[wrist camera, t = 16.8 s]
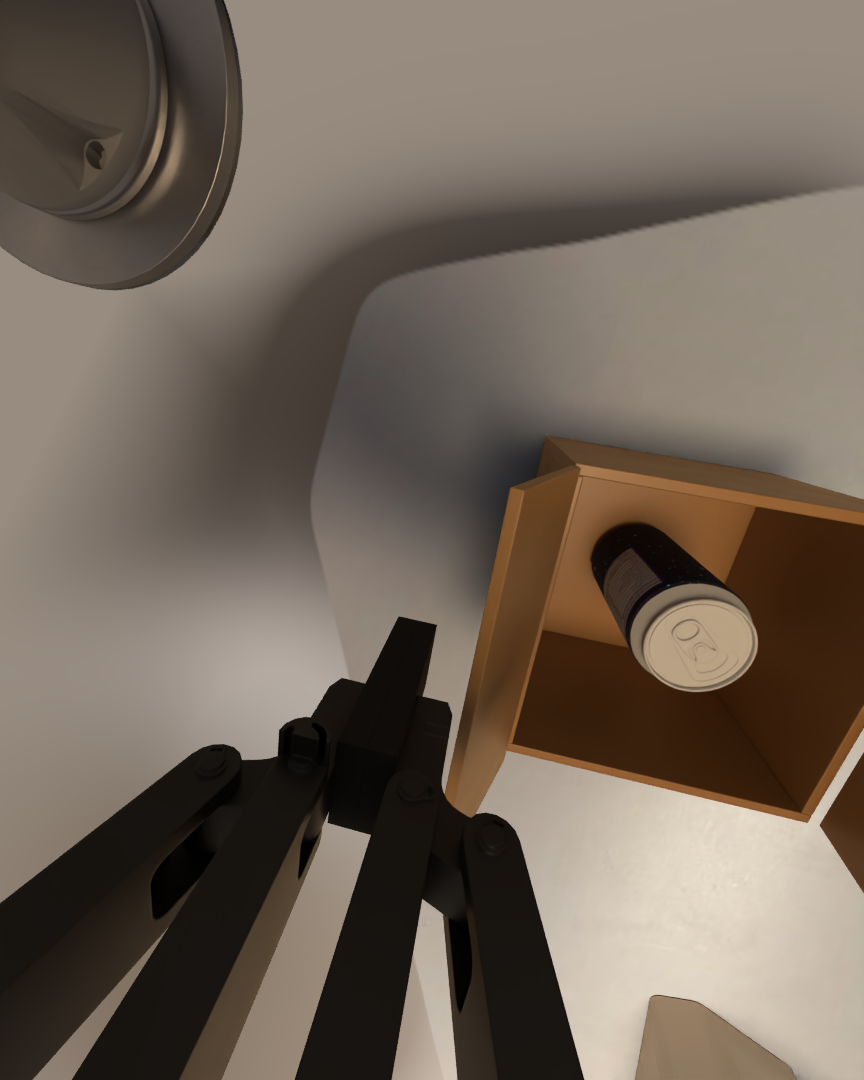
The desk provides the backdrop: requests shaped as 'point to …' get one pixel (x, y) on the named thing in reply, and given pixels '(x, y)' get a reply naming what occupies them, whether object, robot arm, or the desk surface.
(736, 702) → the carton
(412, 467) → the desk surface
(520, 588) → the flap
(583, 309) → the desk surface
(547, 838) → the desk surface
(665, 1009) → the tall recessed triangular prism
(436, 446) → the desk surface
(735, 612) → the beverage can
